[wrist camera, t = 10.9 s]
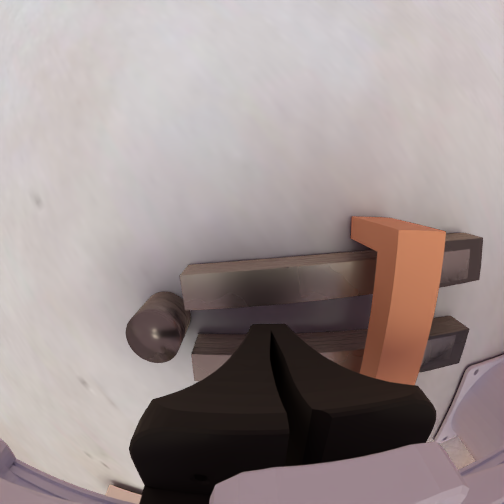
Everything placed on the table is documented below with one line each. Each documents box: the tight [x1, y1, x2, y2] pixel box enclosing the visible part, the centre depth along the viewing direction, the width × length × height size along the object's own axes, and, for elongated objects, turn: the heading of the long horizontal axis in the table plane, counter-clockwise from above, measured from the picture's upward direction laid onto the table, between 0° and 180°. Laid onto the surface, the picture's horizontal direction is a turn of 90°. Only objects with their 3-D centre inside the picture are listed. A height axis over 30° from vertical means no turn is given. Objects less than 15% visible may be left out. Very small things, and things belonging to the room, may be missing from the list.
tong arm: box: [180, 233, 483, 310], centre depth 12 cm, size 14×2×2 cm, turn 95°
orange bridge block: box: [351, 216, 446, 385], centre depth 11 cm, size 2×10×4 cm, turn 0°
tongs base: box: [126, 292, 469, 381], centre depth 13 cm, size 17×4×3 cm, turn 90°
